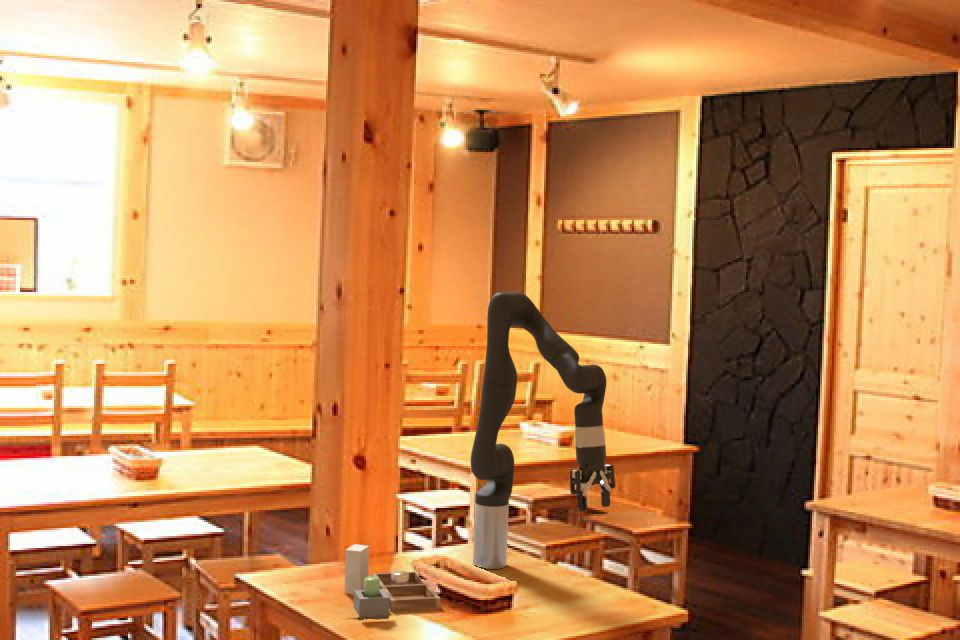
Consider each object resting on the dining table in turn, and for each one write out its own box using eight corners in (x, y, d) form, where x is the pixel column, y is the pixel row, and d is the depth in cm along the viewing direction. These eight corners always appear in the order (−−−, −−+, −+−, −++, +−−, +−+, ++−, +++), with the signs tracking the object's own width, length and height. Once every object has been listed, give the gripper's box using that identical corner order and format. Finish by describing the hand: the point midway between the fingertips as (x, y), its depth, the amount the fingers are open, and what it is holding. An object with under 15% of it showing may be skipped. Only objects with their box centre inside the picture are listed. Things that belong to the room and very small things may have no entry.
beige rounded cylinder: (389, 586, 304) (389, 571, 303) (406, 585, 305) (406, 570, 304) (392, 591, 299) (393, 576, 299) (410, 591, 301) (410, 575, 300)
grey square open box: (353, 611, 286) (354, 590, 286) (382, 609, 288) (383, 588, 288) (359, 620, 279) (359, 599, 279) (388, 618, 281) (389, 597, 281)
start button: (362, 593, 285) (363, 577, 284) (377, 593, 286) (378, 576, 285) (365, 598, 281) (366, 581, 281) (380, 597, 282) (381, 580, 282)
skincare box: (352, 590, 302) (353, 543, 302) (368, 592, 301) (369, 545, 301) (343, 597, 297) (344, 549, 296) (359, 599, 295) (361, 551, 295)
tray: (371, 587, 306) (371, 573, 306) (417, 584, 310) (417, 571, 309) (390, 615, 284) (391, 600, 284) (439, 612, 288) (440, 598, 287)
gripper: (598, 441, 311) (602, 504, 311) (560, 446, 302) (564, 511, 301) (620, 441, 306) (624, 506, 305) (582, 447, 296) (586, 513, 296)
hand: (594, 508), depth 303 cm, fingers open, 8 cm apart
